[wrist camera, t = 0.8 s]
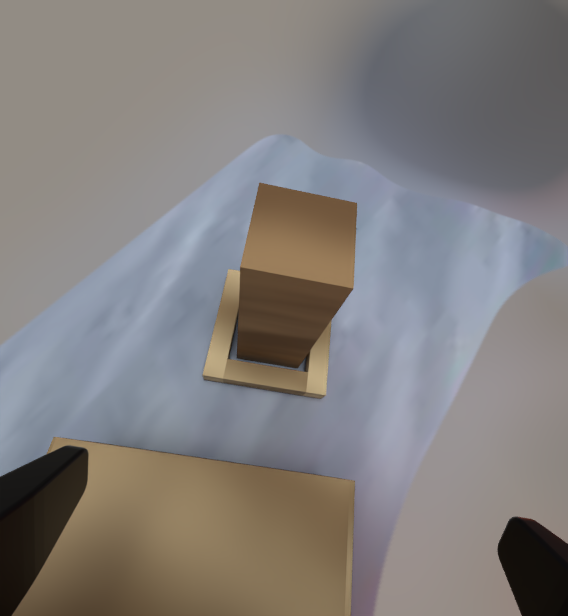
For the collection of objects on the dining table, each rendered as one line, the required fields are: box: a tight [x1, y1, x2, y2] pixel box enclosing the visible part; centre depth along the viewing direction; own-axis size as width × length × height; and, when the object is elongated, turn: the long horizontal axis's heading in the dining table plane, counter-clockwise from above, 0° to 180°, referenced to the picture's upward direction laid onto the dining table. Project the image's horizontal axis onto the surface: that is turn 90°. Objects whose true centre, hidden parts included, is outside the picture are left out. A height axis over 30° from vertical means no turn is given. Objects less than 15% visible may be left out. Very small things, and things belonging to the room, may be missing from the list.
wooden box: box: [47, 269, 355, 616], centre depth 15 cm, size 26×12×6 cm, turn 172°
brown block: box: [237, 183, 357, 368], centre depth 17 cm, size 4×4×11 cm
